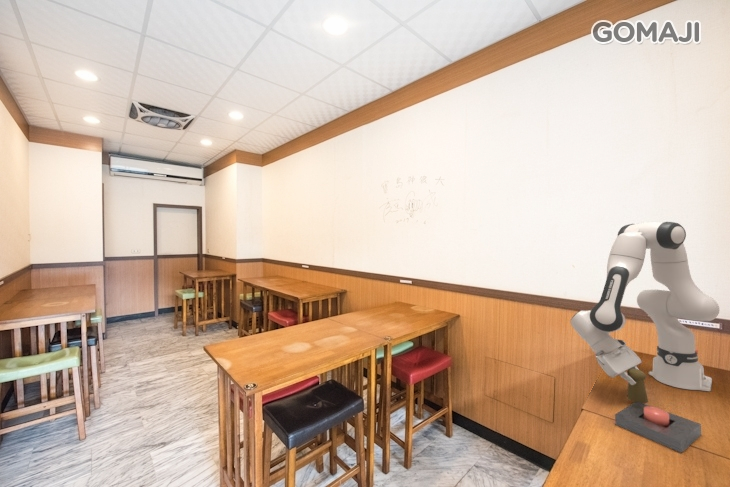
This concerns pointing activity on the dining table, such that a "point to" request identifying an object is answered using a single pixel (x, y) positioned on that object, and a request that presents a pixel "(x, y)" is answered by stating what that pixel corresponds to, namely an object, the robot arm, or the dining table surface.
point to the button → (656, 416)
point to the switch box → (659, 427)
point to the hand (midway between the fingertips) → (638, 381)
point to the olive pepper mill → (637, 386)
